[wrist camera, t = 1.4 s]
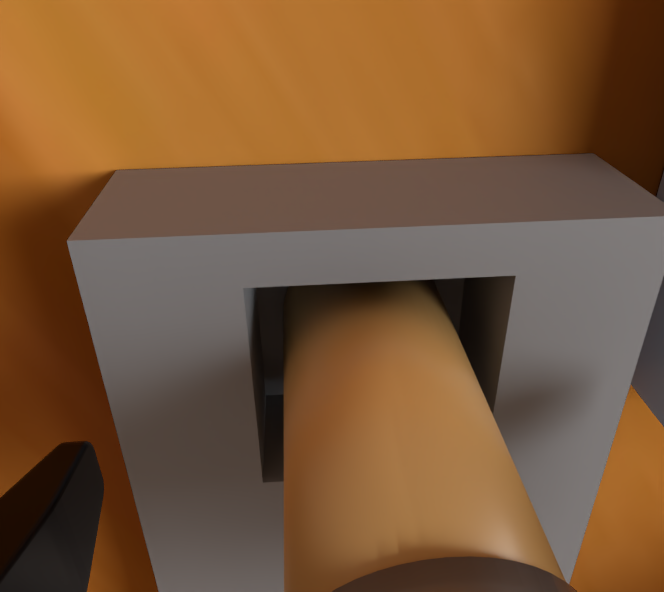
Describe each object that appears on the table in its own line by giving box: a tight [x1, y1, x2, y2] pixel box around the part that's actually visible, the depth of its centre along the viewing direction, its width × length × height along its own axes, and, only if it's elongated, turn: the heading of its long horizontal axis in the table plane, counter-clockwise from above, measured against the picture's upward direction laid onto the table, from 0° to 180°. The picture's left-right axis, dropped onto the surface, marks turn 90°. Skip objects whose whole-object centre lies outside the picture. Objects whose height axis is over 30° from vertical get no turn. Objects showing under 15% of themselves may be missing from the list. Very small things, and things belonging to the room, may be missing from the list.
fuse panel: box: [67, 153, 664, 592], centre depth 13 cm, size 9×14×4 cm, turn 1°
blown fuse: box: [283, 279, 577, 592], centre depth 9 cm, size 3×3×8 cm
